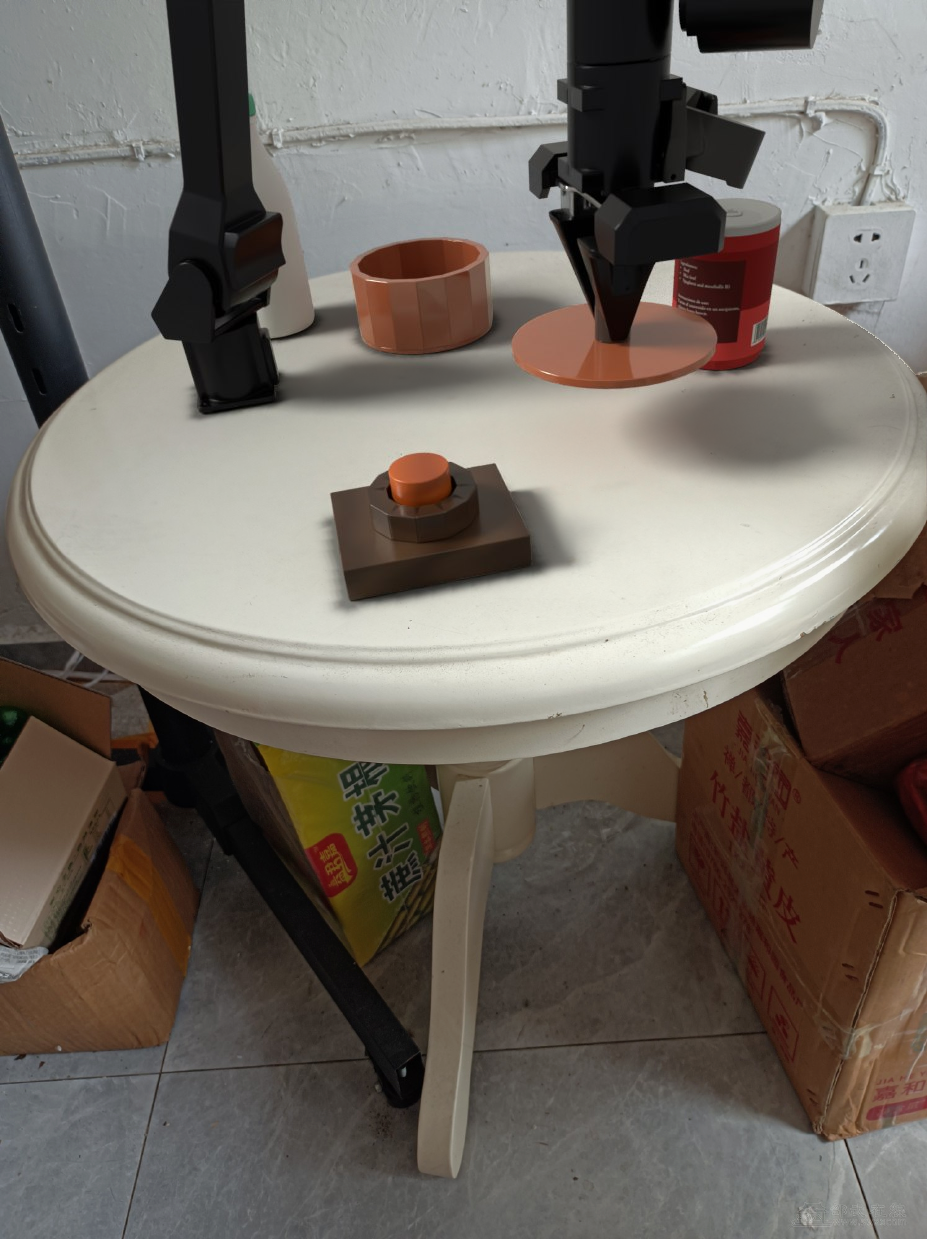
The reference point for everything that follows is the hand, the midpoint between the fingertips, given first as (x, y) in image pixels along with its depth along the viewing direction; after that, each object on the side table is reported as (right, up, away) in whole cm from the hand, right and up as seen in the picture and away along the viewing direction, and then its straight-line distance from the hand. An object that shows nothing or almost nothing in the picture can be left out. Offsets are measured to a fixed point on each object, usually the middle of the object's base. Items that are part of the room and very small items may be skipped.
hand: (611, 332), depth 58 cm
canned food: (+11, +3, +15) cm, 19 cm away
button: (-12, -12, -6) cm, 18 cm away
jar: (-13, +9, +25) cm, 29 cm away
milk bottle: (-28, +10, +29) cm, 42 cm away
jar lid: (0, -1, +1) cm, 1 cm away
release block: (-12, -14, -4) cm, 19 cm away
